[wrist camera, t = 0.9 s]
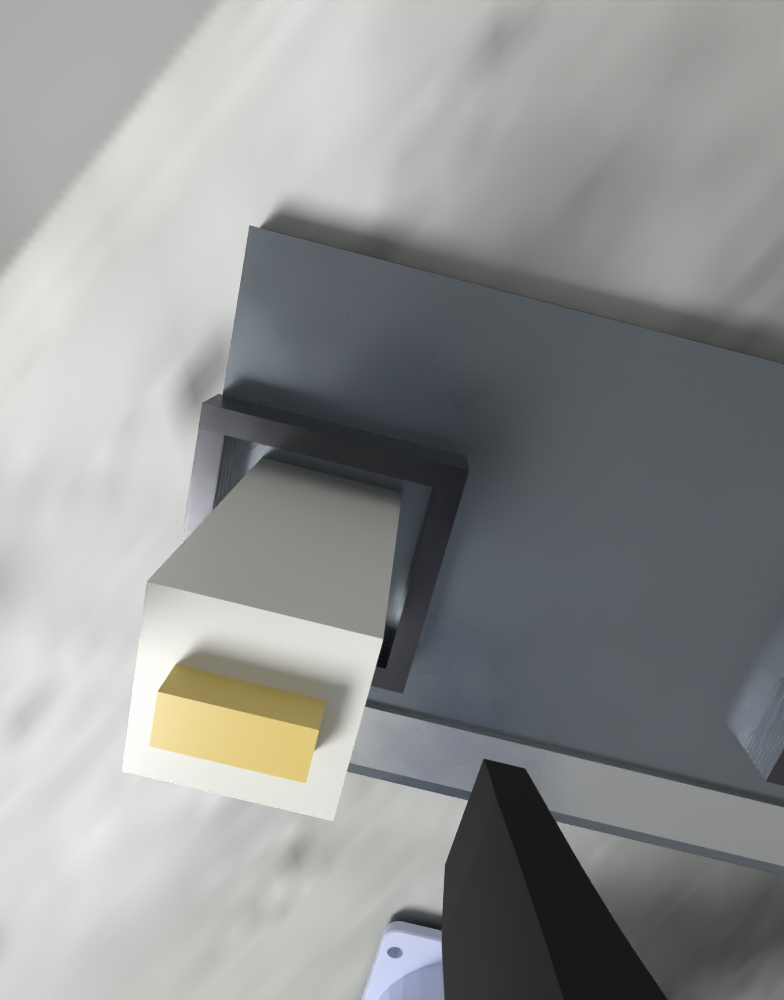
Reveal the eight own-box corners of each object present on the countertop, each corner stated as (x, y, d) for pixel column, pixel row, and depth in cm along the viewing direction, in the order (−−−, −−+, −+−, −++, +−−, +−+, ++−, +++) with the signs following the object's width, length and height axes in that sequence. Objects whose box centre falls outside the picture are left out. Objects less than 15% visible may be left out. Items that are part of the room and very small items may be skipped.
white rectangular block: (369, 615, 18) (326, 856, 10) (238, 583, 17) (102, 804, 10) (402, 492, 16) (379, 665, 9) (261, 457, 16) (125, 603, 9)
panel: (870, 876, 20) (916, 938, 19) (176, 711, 20) (149, 756, 18) (1145, 458, 16) (1242, 482, 14) (254, 226, 15) (229, 220, 13)
